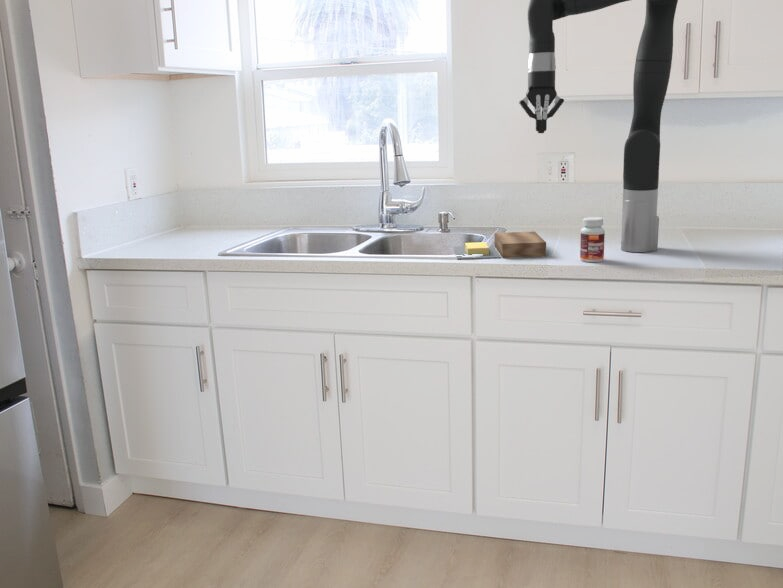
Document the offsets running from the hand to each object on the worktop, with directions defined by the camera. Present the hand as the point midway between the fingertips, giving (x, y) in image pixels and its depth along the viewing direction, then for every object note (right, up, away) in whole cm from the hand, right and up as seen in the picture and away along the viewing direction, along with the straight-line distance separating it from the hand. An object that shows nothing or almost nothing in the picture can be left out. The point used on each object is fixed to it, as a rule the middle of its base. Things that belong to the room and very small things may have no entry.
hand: (540, 133), depth 214 cm
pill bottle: (+11, -37, -13) cm, 41 cm away
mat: (-18, -34, +3) cm, 39 cm away
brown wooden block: (-6, -34, +2) cm, 34 cm away
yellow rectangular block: (-18, -32, +1) cm, 37 cm away
